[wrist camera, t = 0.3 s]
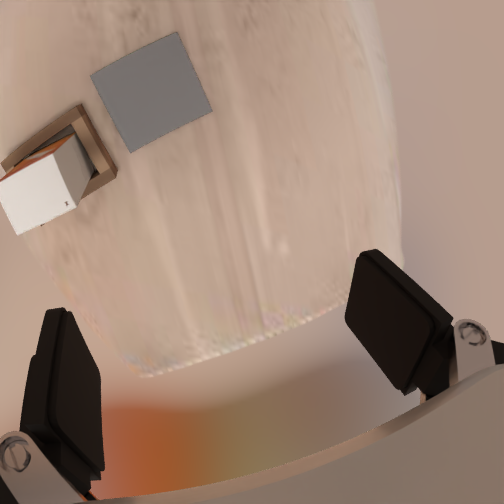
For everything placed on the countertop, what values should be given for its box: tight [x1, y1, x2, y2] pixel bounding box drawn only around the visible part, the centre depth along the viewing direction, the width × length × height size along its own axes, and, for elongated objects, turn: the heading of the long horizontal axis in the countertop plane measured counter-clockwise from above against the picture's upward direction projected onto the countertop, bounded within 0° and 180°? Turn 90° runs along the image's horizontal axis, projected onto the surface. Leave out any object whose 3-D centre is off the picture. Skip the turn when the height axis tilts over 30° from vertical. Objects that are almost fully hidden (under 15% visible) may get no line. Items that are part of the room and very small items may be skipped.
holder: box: [1, 104, 118, 226], centre depth 35 cm, size 11×13×4 cm
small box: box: [0, 132, 94, 235], centre depth 31 cm, size 8×6×13 cm
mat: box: [90, 32, 212, 153], centre depth 36 cm, size 12×12×1 cm
